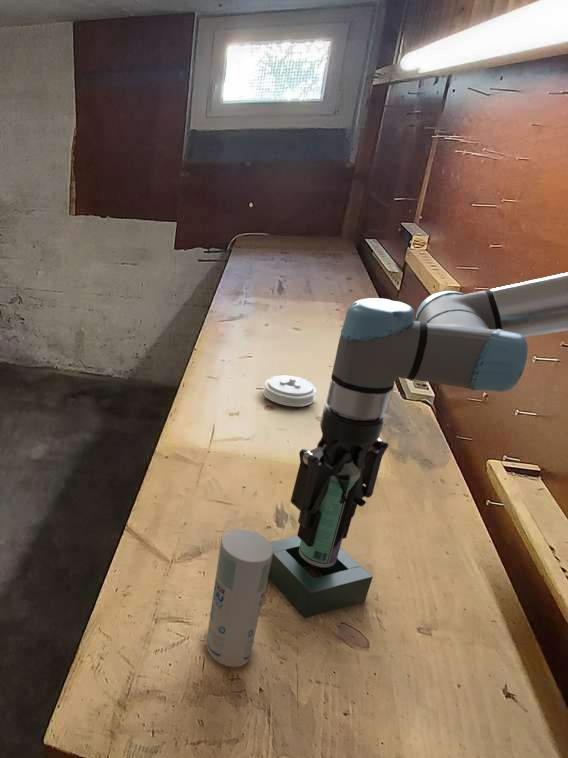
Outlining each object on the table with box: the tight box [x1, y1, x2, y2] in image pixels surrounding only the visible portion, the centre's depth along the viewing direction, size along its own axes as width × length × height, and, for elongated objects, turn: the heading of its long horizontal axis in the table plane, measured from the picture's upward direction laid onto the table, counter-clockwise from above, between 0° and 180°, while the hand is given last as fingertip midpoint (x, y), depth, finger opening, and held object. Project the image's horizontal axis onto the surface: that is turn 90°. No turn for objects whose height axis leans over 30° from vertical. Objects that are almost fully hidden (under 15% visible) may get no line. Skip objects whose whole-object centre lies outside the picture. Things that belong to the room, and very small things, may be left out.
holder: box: [268, 535, 374, 620], centre depth 92 cm, size 11×11×6 cm
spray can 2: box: [299, 460, 361, 567], centre depth 86 cm, size 6×6×20 cm
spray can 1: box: [206, 528, 273, 668], centre depth 79 cm, size 6×6×20 cm
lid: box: [263, 374, 317, 407], centre depth 151 cm, size 13×13×5 cm
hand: (321, 536), depth 89 cm, fingers closed on spray can 2, 5 cm apart
